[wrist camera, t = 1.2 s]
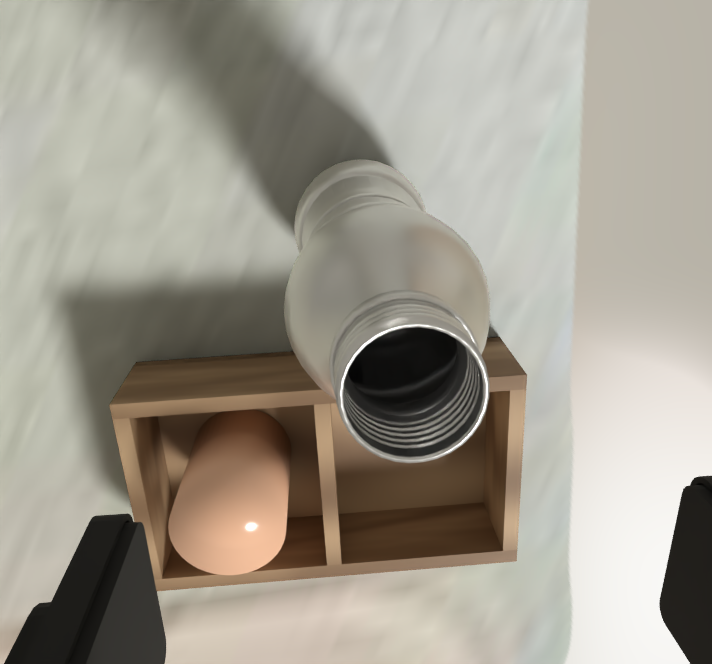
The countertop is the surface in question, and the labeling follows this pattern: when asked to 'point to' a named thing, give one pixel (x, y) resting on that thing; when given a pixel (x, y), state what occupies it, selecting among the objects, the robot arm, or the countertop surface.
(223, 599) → the countertop surface
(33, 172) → the countertop surface
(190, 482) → the peach colored egg
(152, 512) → the crate
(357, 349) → the grey metal bottle
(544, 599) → the countertop surface
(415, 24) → the countertop surface
